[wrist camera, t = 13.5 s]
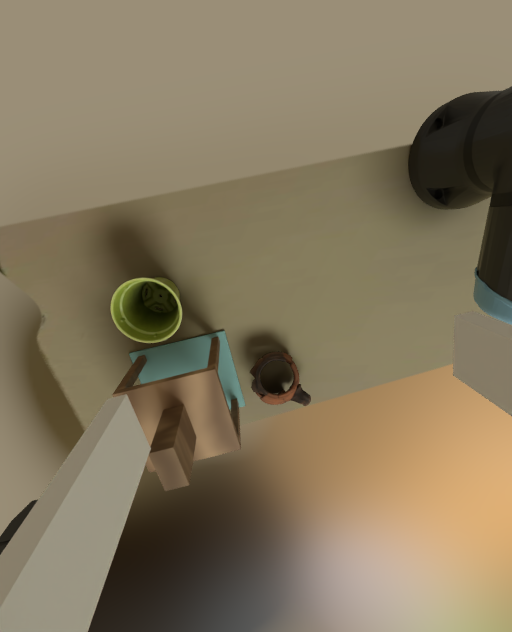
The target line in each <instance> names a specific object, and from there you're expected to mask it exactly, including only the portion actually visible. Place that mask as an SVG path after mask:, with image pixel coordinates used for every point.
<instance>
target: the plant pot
mask: <svg viewBox="0 0 512 632" xmlns="http://www.w3.org/2000/svg"><path fill="white" fill-rule="evenodd" d="M146 289H148V292H147V297H146V296H145V290H146ZM160 294H161V295H162V297H161V298H160V297H159V295H160ZM174 299H176V302H174ZM155 307H158V308H163V310H157V309H155ZM110 308H111V315H112V319H113V321H114V323H115V324H116V326H117V327H118V329H119V330H120V331H121V332H122V333H123V334H124V335H126V336H127V337H129V338H131V339H133V340H135V341H138V342H143V343H156V342H160V341H163V340H165V339H167V338H169V337H171V336H172V335H173V334H174V333H175V332H176V331H177V329H178V328H179V326H180V323H181V320H182V307H181V303H180V293H179V290H178V288H177V287H176V285H175V284H174V283H173V282H172V281H170V280H168V279H166V278H162V277H157V278H135V279H132V280H129V281H127V282H125V283H123V284H122V285H121V286H120V287H119V288H118V289H117V290H116V291H115V293H114V294H113V297H112V300H111V307H110Z"/></svg>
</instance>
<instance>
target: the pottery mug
mask: <svg viewBox="0 0 512 632" xmlns="http://www.w3.org/2000/svg"><path fill="white" fill-rule="evenodd" d="M274 360H280V361H284V362H285V361H286V362H287V363H289V364H290V367H291V369H292V371H293V374H294V380H293V383H292V385H291V386H290V388H289V390H288V391H286V392H285V391H284V390H283V391H281V392H280V393H278V394H273V393H270V392H268V391H267V390H265V389H264V387H263V386H262V384H261V381H260V373H261V370H262V368H263V367H264V366H265V365H266V364H267V363H269V362H271V361H274ZM250 373H251V374H252V375H253V376H254V377H255V380H253V382H252V387H251V388H252V390H253V391H254V392H256V394H257V395H258V396H259V397H260V399H261V400H262V401H263V402H265V403H268V404H273V405H274V404H283V403H285V402H286V401H290V400H291V401H295V402H298V403H300V404H303V405H304V406H307V405H308V404H309V403H310V401H311V396H310V395H309V394H307V393H306V392H305V391H303V390H302V388H301V384H299V373H298V370H297V367H296V365H295V363H294V362H293V361H292V357H291V356H290V355H288V354H286V353H284V352H272V353H268V354H266V355H264V356H262V359H259V360H258V361H257V363H256V364H255V366H254V367H253V368H252V369H251V371H250Z"/></svg>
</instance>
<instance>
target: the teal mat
mask: <svg viewBox="0 0 512 632" xmlns="http://www.w3.org/2000/svg"><path fill="white" fill-rule="evenodd" d="M214 337H219V340H220V352H219V364H218V375H219V378H220V381H221V384H222V388H223V391H224V394H225V397H226V400H227V403H228V406H229V410H230V409H231V400H232V399H236V398H237V400H238V403H239V407H243V406H245V402H244V399H243V395H242V392H241V388H240V384H239V381H238V377H237V374H236V370H235V366H234V363H233V359H232V356H231V352H230V349H229V345H228V341H227V338H226V334H225V331H220V332H216V333H212V334H207V335H203V336H199V337H195V338H191V339H186V340H182V341H178V342H174V343H170V344H165V345H161V346H157V347H153V348H149V349H144V350H140V351H136V352H132V353H129V355H130V358H131V360H132V363H134V362H135V360H136V359H137V357H138V356H142V355H145V356H146V359H147V362H146V364H145V365H144V367H143V369H142V371H141V372H140V374H139V376H138V377H139V379H140V382H141V384H144V383H148V382H152V381H156V380H160V379H164V378H168V377H172V376H176V375H180V374H184V373H188V372H192V371H196V370H200V369H204V368H207V365H208V359H209V352H210V346H211V339H212V338H214Z"/></svg>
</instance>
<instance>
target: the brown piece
mask: <svg viewBox="0 0 512 632" xmlns="http://www.w3.org/2000/svg"><path fill="white" fill-rule="evenodd" d="M219 352H220V340H219V337H214V338H212V339H211V346H210V352H209V359H208V365H207V368H204V369H200V370H196V371H192V372H188V373H184V374H180V375H176V376H172V377H168V378H164V379H160V380H156V381H152V382H148V383H144V384H140V385H136V386H133V384H134V383H135V381H136V379H137V377H138V376H139V374H140V372H141V371H142V369H143V367H144V365H145V364H146V362H147V359H146V356H145V355H142V356H138V357H137V359H136V360H135V362H134V363H133V365H132V366H131V368H130V369H129V371H128V372H127V374H126V375H125V377H124V378H123V380H122V381H121V383H120V384H119V386H118V387H117V389H116V390H115V392H114V393H113V397H117V396H121V395H125V394H127V396H128V398H129V401H130V403H131V405H132V407H133V410H134V412H135V414H136V416H137V419H138V421H139V423H140V425H141V428H142V430H143V432H144V434H145V437H146V439H147V441H148V443H149V446H150V448H151V450H150V452H149V455H148V458H147V461H146V466H147V468H148V470H149V472H153V471H156V472H157V474H158V477H159V479H160V481H161V483H162V485H163V487H164V489H165V491H168V490H171V489H175V488H179V487H183V486H187V485H189V484H190V477H191V470H192V464H193V461H196V460H200V459H205V458H209V457H213V456H216V455H220V454H224V453H228V452H232V451H236V450H240V449H241V443H240V421H239V403H238V400H237V398H236V399H232V400H231V413H230V410H229V406H228V403H227V400H226V397H225V394H224V391H223V388H222V384H221V381H220V378H219V375H218V364H219Z"/></svg>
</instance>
